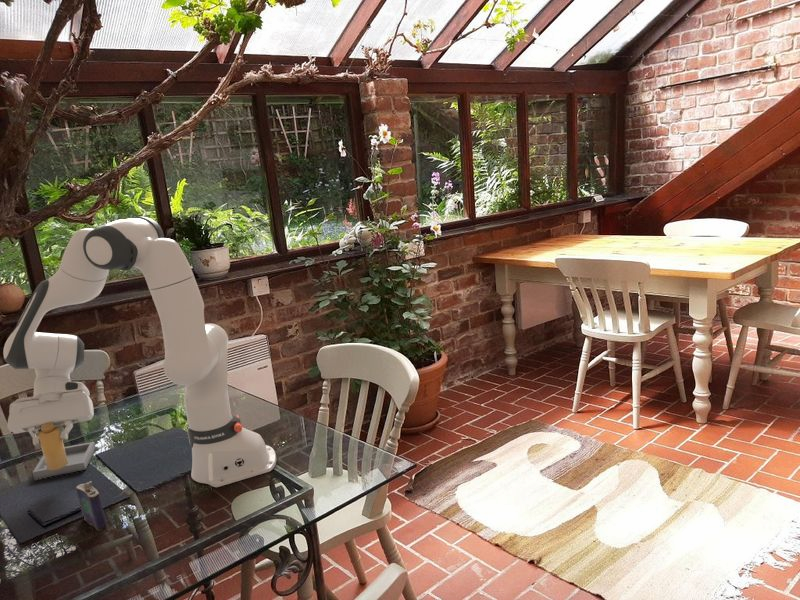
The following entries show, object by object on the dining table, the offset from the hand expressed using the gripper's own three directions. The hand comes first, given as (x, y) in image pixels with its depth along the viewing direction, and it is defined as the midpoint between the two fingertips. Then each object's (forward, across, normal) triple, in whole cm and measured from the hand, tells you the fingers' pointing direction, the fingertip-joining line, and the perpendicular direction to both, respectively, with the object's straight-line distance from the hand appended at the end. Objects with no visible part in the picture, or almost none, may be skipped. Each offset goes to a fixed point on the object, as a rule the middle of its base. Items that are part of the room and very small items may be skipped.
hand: (50, 441), depth 158 cm
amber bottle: (+5, 0, +6) cm, 7 cm away
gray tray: (0, -2, +19) cm, 19 cm away
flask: (+25, +13, -5) cm, 28 cm away
